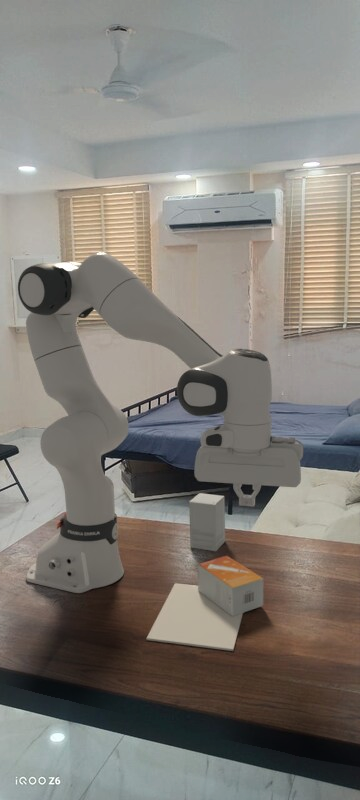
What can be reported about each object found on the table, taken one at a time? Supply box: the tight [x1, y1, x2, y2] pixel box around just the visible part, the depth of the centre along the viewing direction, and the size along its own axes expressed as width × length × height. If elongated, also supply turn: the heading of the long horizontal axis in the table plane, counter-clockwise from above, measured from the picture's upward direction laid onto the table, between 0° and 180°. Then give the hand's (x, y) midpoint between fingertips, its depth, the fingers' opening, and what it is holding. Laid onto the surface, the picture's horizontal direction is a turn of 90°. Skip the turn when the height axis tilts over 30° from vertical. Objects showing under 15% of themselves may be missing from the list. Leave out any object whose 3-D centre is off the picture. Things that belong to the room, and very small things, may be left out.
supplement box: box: [188, 492, 226, 552], centre depth 152 cm, size 7×7×13 cm
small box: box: [197, 555, 264, 616], centre depth 124 cm, size 8×6×13 cm
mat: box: [146, 582, 244, 652], centre depth 119 cm, size 16×22×1 cm
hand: (247, 505), depth 113 cm, fingers closed
